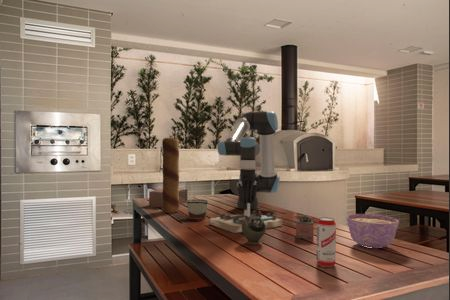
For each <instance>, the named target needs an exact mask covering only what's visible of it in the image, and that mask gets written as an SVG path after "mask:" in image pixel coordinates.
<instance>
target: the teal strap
mask: <svg viewBox="0 0 450 300" xmlns="http://www.w3.org/2000/svg"><path fill="white" fill-rule="evenodd" d="M261 219H262V220H270V219H273V216H270V217H261ZM235 222H237V223H239V220H235Z"/></svg>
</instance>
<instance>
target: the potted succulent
mask: <svg viewBox="0 0 450 300" xmlns="http://www.w3.org/2000/svg"><path fill="white" fill-rule="evenodd" d="M298 219H299V220H298ZM314 225H315V222H314V221H312V216H307V215H298V214H297V215H296V220H295V235H294V237H296V238H295V239H300V238H305V239H304V240H314V239H315V238H314ZM313 238H314V239H313Z"/></svg>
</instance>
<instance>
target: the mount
mask: <svg viewBox="0 0 450 300" xmlns="http://www.w3.org/2000/svg"><path fill="white" fill-rule="evenodd" d="M252 213H258V214H260V215H261V217H271V213H266V215H263V214H262V211H261V210H258V211H257V209H252ZM231 215H232V214H226V213H220V214H219V217H210V219H209V225H211V226H215V227H217V228H219V229H222V230H225V231H228V232H231V233H233V234H236V233H237V234H238V233H243V232H242V222H243V220H244V219H245V217H237V218H230V216H231ZM222 216H225V219H224V218H222ZM256 216H258V215H256ZM272 217H273V219H270V220H263V221H264V223H265V226H266V229H272V228H279V227H283V219H279V218H277V215H276V214H272ZM235 220H239V223H237V222H235ZM278 226H279V227H278Z"/></svg>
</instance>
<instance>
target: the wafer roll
mask: <svg viewBox="0 0 450 300" xmlns="http://www.w3.org/2000/svg"><path fill="white" fill-rule="evenodd" d="M179 146H180V145H179V139H178V138H173V137H171V138H170V137H164V138H163V139H162V189H163V207H162V211H163V213H165V214H174V213H177V212H179V211H180V205H179V188H180V185H179V184H180V169H179V168H180V167H179V165H180V164H179V162H180V161H179V160H180V159H179V158H180V149H179V148H180V147H179Z"/></svg>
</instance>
